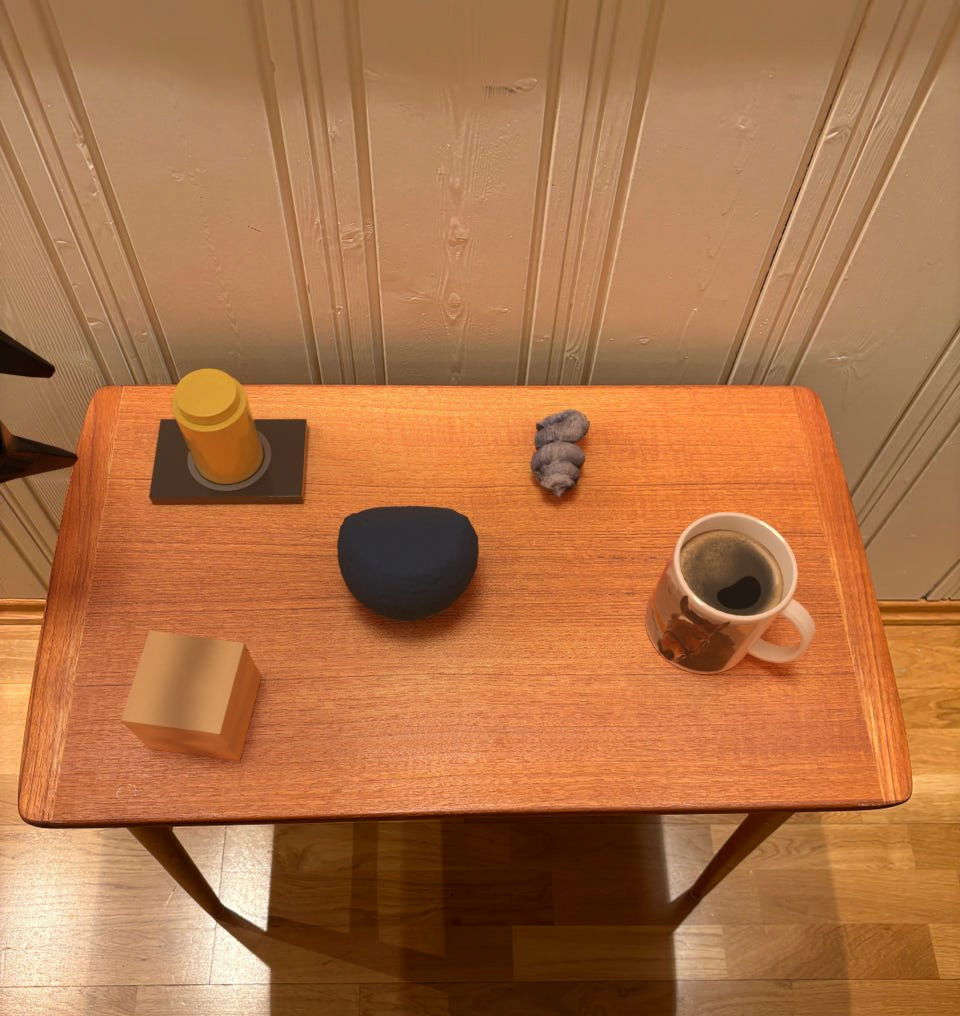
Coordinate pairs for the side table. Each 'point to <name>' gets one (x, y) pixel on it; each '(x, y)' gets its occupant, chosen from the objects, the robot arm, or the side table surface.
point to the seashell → (559, 451)
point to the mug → (726, 596)
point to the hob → (267, 485)
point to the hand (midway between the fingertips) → (64, 415)
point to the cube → (192, 695)
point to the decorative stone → (407, 559)
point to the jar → (217, 426)
